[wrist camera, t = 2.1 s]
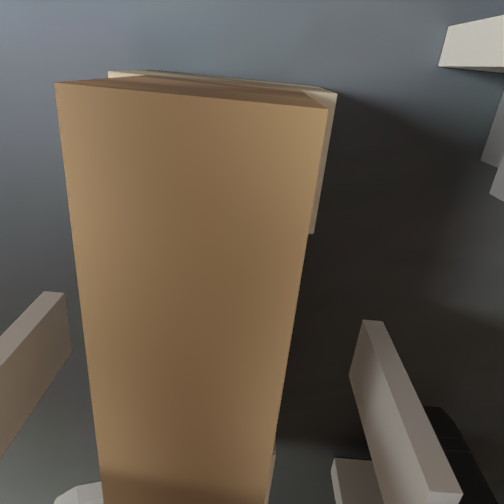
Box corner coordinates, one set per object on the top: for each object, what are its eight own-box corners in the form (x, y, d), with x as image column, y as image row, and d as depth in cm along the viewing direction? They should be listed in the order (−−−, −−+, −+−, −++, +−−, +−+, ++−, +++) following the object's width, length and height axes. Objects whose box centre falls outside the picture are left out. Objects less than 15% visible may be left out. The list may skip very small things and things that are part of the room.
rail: (156, 505, 18) (121, 653, 13) (146, 74, 10) (54, 82, 6) (244, 512, 18) (238, 662, 13) (299, 89, 10) (328, 109, 6)
